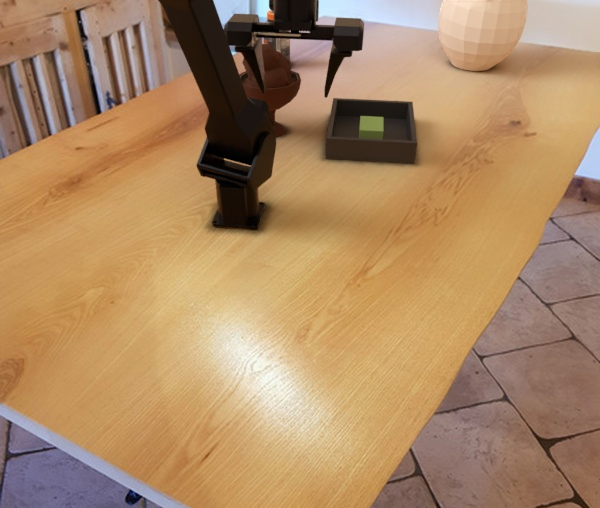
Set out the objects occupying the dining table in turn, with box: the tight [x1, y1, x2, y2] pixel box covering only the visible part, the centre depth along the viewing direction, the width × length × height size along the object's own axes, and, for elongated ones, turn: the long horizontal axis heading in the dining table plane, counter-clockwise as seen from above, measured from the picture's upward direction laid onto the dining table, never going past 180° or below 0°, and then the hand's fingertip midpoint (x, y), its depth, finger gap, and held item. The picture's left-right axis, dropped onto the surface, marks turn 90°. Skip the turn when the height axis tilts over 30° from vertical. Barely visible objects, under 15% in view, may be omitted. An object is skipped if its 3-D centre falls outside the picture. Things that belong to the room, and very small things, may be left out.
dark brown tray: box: [324, 97, 418, 165], centre depth 96 cm, size 18×15×4 cm
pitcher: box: [437, 0, 528, 72], centre depth 119 cm, size 19×18×25 cm
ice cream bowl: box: [239, 43, 302, 138], centre depth 94 cm, size 11×11×15 cm
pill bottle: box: [263, 9, 291, 61], centre depth 123 cm, size 6×6×11 cm
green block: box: [359, 116, 384, 139], centre depth 94 cm, size 6×4×3 cm, turn 174°
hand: (294, 95), depth 80 cm, fingers open, 9 cm apart
